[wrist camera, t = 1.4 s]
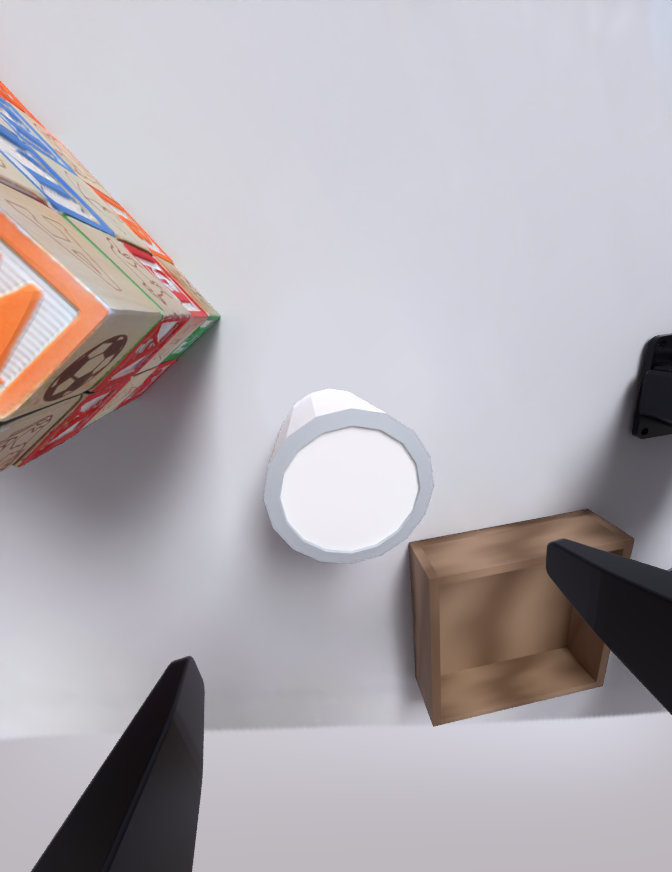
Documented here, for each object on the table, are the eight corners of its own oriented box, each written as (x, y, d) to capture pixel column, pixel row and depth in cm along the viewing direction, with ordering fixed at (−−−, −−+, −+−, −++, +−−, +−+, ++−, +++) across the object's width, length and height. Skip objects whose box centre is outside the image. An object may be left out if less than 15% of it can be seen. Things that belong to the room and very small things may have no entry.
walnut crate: (587, 509, 25) (634, 538, 21) (566, 644, 29) (602, 686, 26) (409, 542, 23) (429, 579, 20) (415, 678, 28) (433, 726, 24)
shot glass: (301, 506, 21) (308, 590, 15) (248, 408, 19) (229, 457, 12) (402, 460, 21) (455, 524, 15) (362, 357, 19) (403, 378, 12)
